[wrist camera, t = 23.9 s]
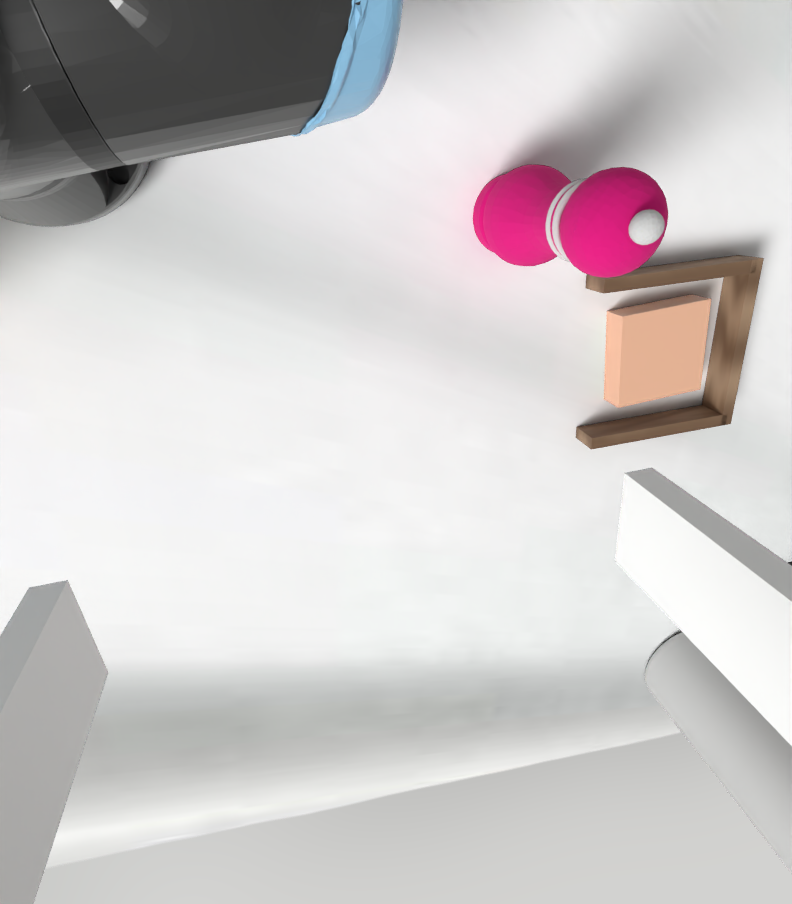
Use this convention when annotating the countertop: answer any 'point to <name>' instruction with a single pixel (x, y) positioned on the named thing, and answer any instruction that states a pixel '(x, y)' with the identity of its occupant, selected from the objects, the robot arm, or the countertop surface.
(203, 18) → the robot arm
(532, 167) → the pepper mill
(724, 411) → the walnut frame
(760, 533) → the countertop surface
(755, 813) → the cylinder vase
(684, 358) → the terracotta tile
